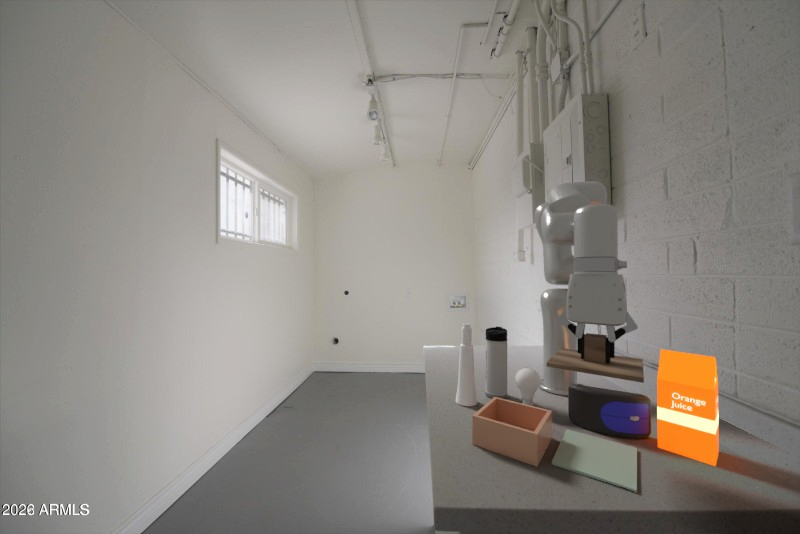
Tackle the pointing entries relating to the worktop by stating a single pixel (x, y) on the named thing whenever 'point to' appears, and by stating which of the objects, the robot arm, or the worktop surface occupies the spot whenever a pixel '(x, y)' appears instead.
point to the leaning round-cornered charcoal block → (610, 411)
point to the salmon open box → (513, 429)
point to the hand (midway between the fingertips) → (595, 358)
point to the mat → (598, 459)
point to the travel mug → (496, 362)
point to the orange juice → (688, 405)
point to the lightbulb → (527, 384)
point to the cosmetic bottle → (466, 370)
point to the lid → (598, 361)
